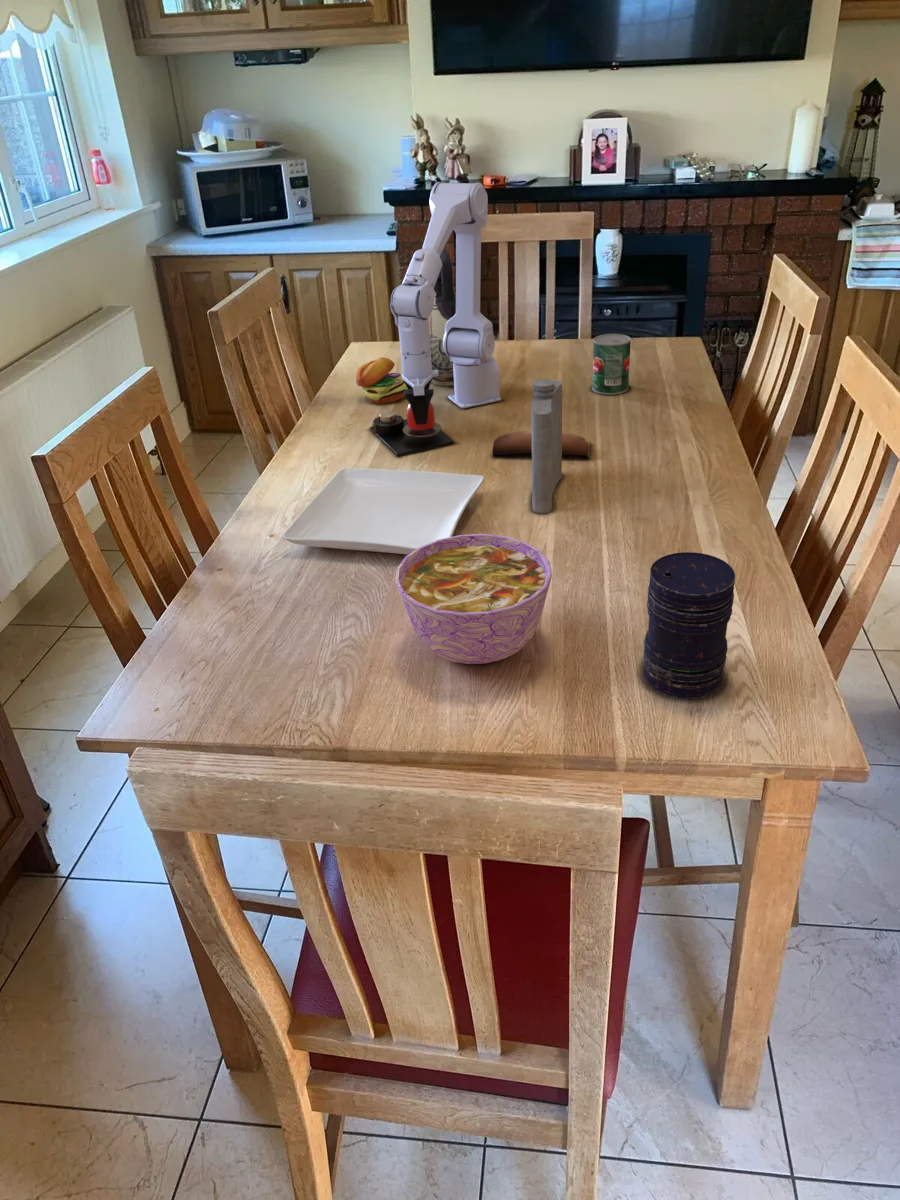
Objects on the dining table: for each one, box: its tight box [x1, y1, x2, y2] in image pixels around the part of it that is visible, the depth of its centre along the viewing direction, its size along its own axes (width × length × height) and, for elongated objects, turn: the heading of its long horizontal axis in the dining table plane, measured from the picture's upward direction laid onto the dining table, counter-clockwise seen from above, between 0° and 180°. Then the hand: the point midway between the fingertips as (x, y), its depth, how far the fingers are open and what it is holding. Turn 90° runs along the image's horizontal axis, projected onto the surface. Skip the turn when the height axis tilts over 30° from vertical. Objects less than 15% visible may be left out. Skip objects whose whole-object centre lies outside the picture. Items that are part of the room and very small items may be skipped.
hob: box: [369, 414, 455, 457], centre depth 185 cm, size 12×16×3 cm
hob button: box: [379, 410, 397, 424], centre depth 186 cm, size 3×3×2 cm
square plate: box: [281, 467, 485, 555], centre depth 153 cm, size 27×27×4 cm
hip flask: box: [530, 378, 563, 514], centre depth 155 cm, size 16×4×20 cm, turn 167°
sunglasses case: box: [492, 430, 590, 458], centre depth 174 cm, size 18×7×7 cm
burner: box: [403, 422, 442, 437], centre depth 183 cm, size 8×8×1 cm
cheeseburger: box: [355, 356, 408, 405], centre depth 203 cm, size 10×11×10 cm
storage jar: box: [642, 551, 736, 700], centre depth 111 cm, size 10×10×15 cm
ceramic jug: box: [428, 247, 469, 387], centre depth 204 cm, size 17×15×30 cm
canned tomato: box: [591, 333, 632, 396], centre depth 199 cm, size 8×8×11 cm
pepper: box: [406, 402, 436, 430], centre depth 180 cm, size 5×5×6 cm
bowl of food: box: [394, 533, 553, 665], centre depth 120 cm, size 20×20×12 cm
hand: (420, 418), depth 181 cm, fingers closed on pepper, 5 cm apart
